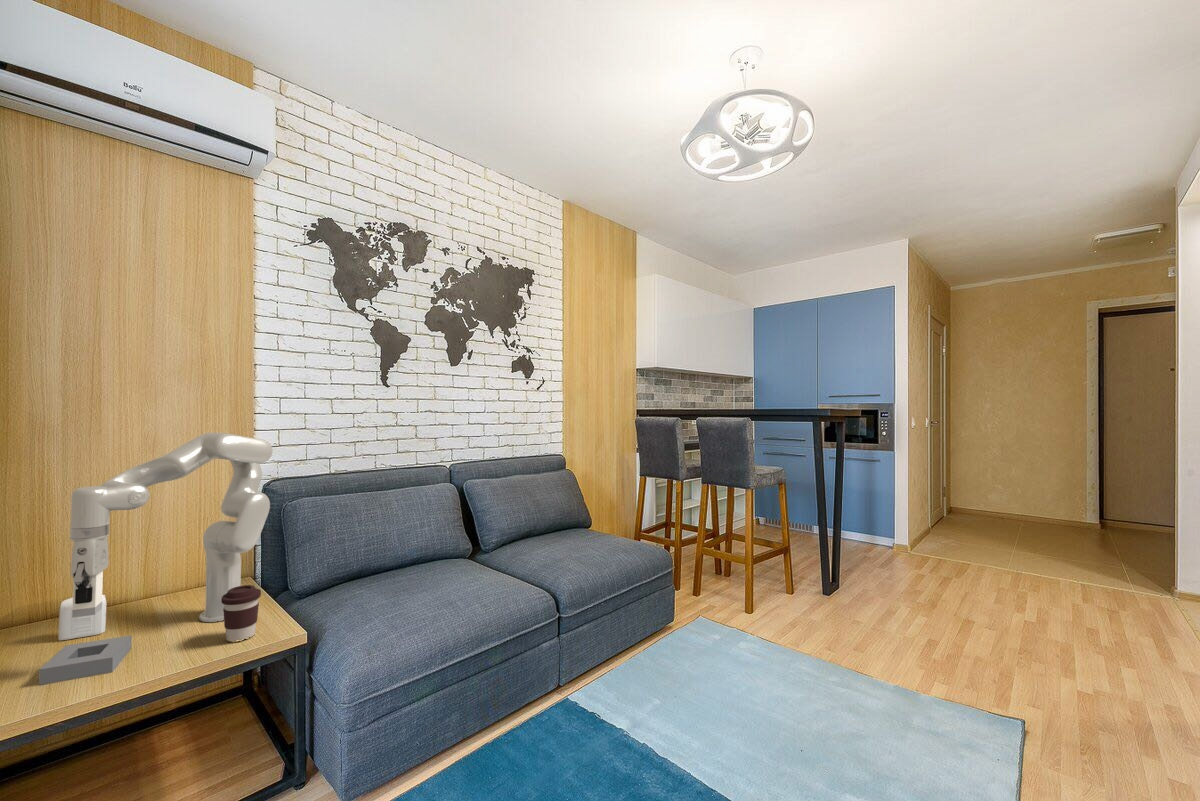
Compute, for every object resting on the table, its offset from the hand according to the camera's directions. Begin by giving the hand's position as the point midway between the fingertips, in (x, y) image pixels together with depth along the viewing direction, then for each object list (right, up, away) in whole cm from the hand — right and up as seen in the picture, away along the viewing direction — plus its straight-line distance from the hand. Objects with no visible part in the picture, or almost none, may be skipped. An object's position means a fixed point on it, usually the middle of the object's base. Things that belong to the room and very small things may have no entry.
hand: (87, 598), depth 137 cm
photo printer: (-19, -18, +17) cm, 32 cm away
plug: (0, -4, 0) cm, 4 cm away
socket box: (0, -18, 0) cm, 18 cm away
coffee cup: (+29, -19, +18) cm, 39 cm away
